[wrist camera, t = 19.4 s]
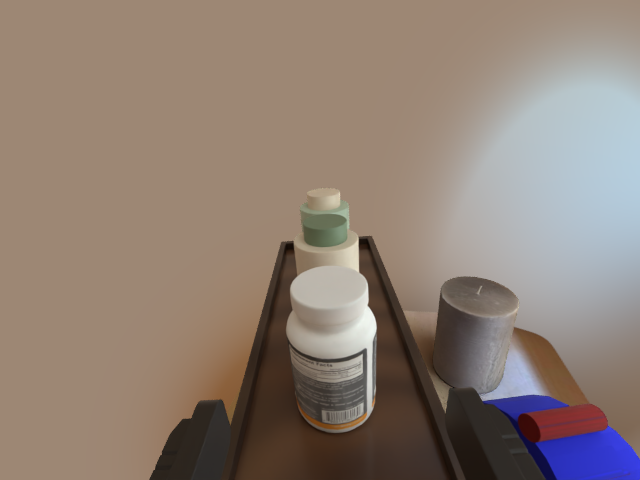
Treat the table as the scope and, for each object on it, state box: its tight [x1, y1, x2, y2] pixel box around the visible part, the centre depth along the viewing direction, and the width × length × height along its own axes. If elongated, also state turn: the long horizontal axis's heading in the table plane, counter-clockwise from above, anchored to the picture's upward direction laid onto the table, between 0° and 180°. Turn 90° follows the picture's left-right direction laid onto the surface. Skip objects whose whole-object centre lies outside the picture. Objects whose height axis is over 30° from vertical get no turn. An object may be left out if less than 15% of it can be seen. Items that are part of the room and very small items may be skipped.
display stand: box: [221, 236, 466, 480], centre depth 35 cm, size 34×14×20 cm, turn 0°
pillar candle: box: [433, 277, 519, 394], centre depth 44 cm, size 10×10×15 cm
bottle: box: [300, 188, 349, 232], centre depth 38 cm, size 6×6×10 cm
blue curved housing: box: [482, 395, 640, 480], centre depth 27 cm, size 12×12×15 cm
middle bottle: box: [294, 214, 359, 276], centre depth 29 cm, size 6×6×10 cm
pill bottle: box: [286, 266, 377, 433], centre depth 20 cm, size 6×6×10 cm
